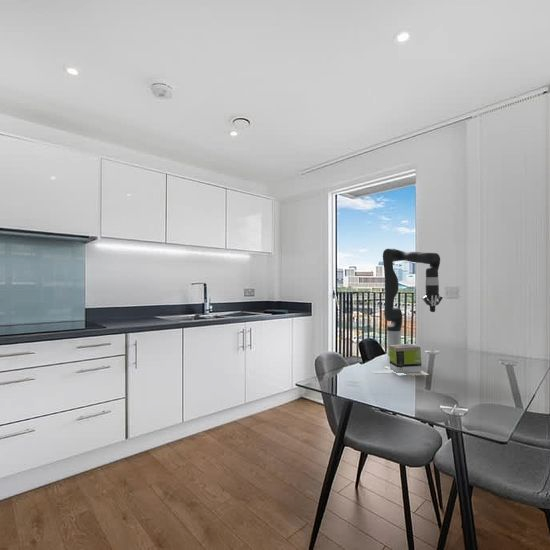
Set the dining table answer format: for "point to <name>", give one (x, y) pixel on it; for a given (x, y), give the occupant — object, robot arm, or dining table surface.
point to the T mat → (411, 372)
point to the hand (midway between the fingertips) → (432, 311)
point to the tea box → (405, 358)
